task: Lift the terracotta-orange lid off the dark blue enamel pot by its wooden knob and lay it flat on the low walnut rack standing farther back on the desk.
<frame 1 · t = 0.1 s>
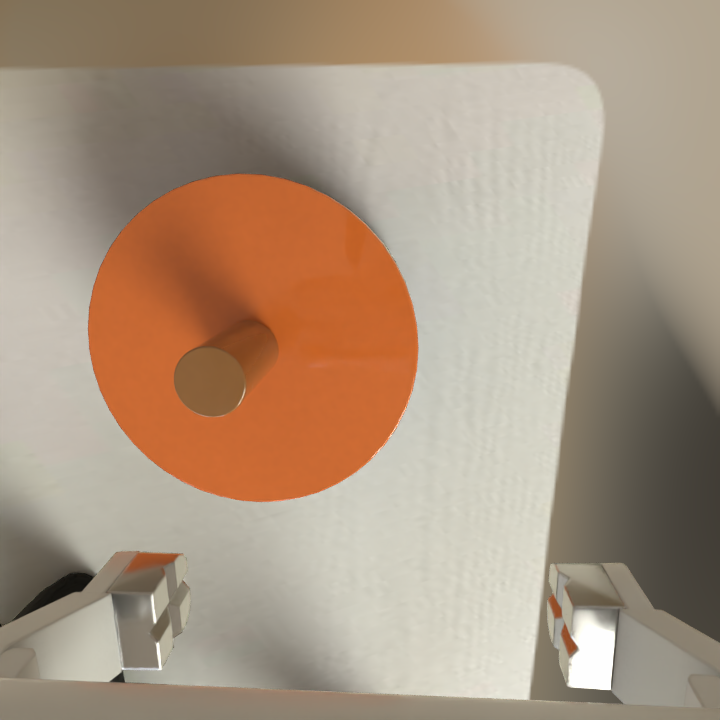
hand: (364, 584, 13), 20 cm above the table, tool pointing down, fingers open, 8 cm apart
lid: (253, 345, 24), point 8 cm above the table, touching pot
film camera: (63, 665, 40), on the table
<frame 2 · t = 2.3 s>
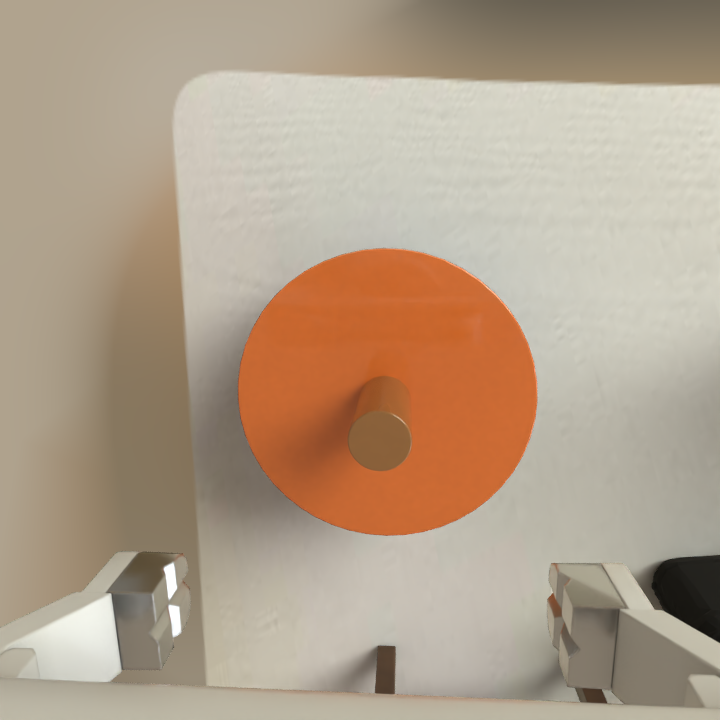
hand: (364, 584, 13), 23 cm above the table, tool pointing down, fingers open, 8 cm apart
lid: (385, 397, 27), point 8 cm above the table, touching pot
rack: (478, 716, 41), on the table
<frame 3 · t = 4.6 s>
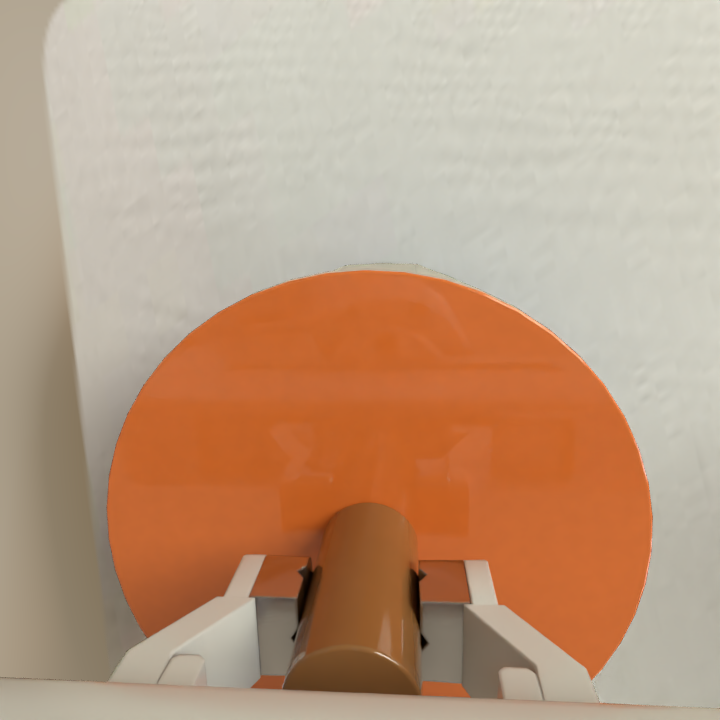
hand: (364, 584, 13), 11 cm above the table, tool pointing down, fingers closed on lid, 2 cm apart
lid: (371, 532, 15), point 9 cm above the table, touching gripper, pot
pot: (383, 421, 23), on the table
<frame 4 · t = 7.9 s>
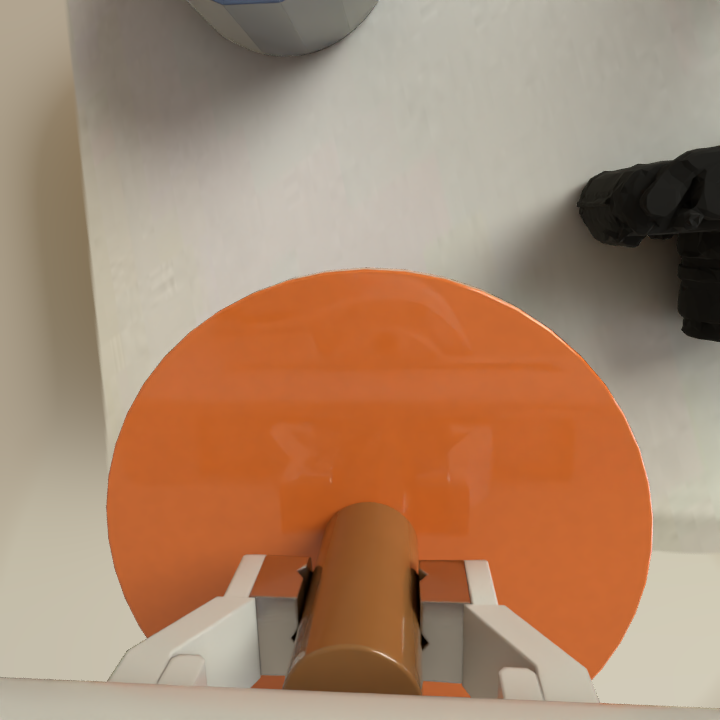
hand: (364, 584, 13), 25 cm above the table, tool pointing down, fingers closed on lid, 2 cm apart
lid: (371, 532, 15), point 22 cm above the table, touching gripper
film camera: (703, 241, 34), on the table
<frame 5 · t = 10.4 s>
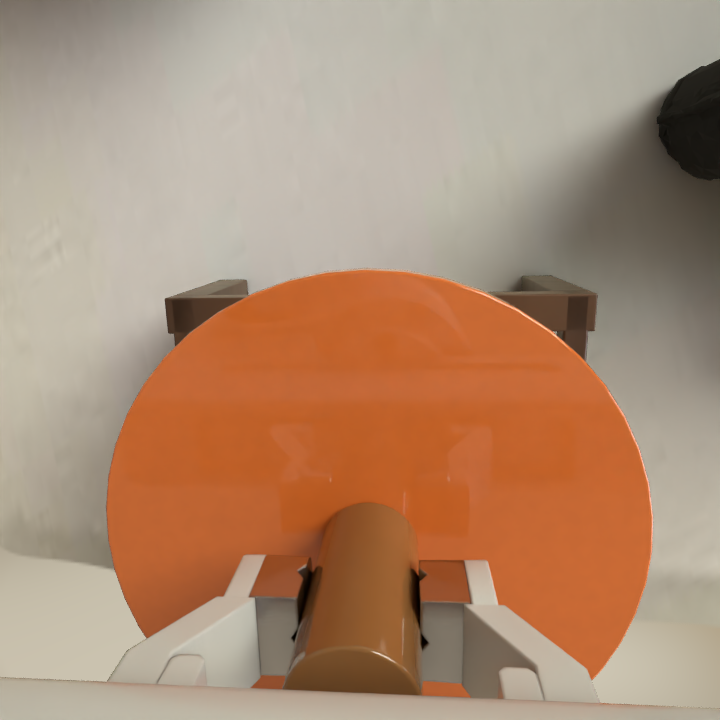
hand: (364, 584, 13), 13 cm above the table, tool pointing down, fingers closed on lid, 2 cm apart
lid: (371, 532, 15), point 11 cm above the table, touching gripper
rack: (383, 402, 26), on the table
when the fingers open (9 cm above the table, at t = 11.7 s): lid stays where it is, resting on rack.
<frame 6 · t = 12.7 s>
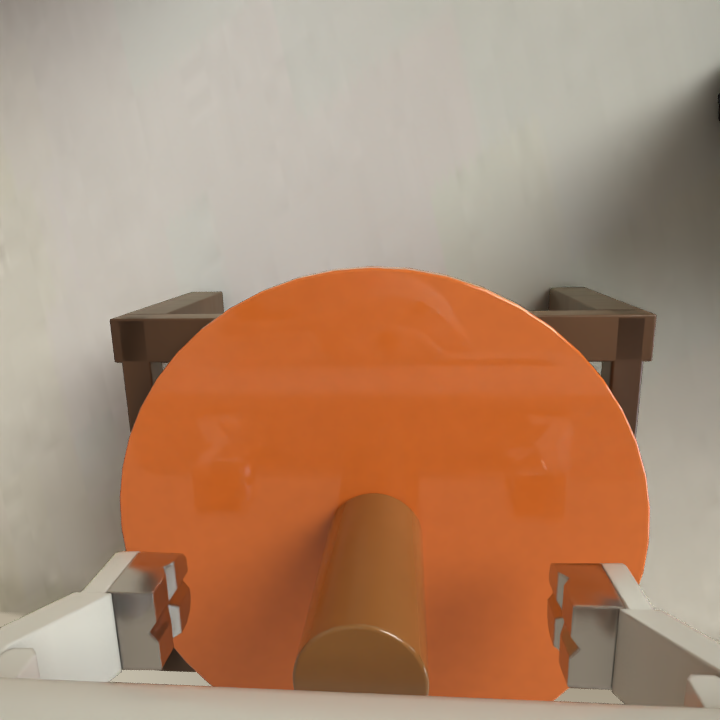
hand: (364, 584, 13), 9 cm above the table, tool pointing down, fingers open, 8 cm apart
lid: (376, 523, 16), point 7 cm above the table, touching rack
rack: (384, 435, 22), on the table
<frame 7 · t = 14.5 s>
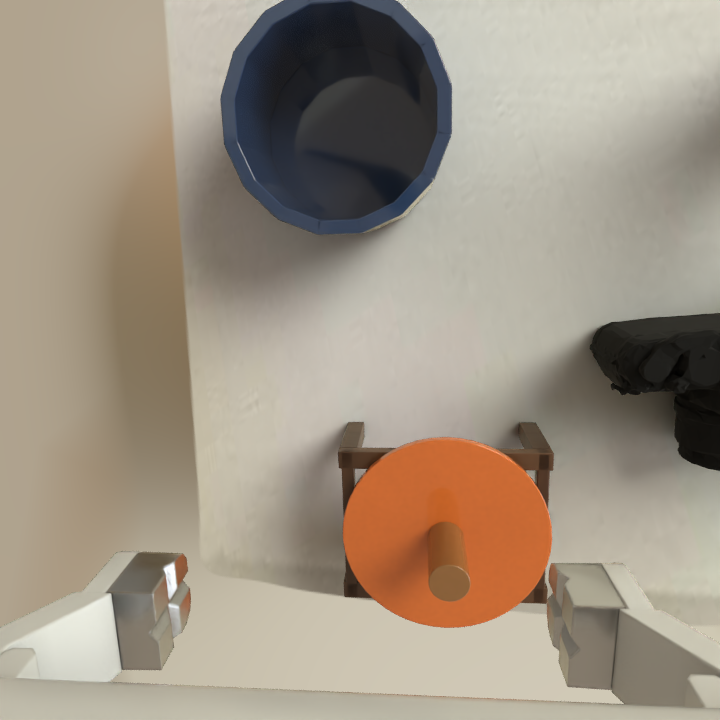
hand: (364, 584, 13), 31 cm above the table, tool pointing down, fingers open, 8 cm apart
lid: (445, 533, 39), point 7 cm above the table, touching rack
rack: (440, 489, 45), on the table
pot: (351, 137, 40), on the table
film camera: (695, 373, 41), on the table
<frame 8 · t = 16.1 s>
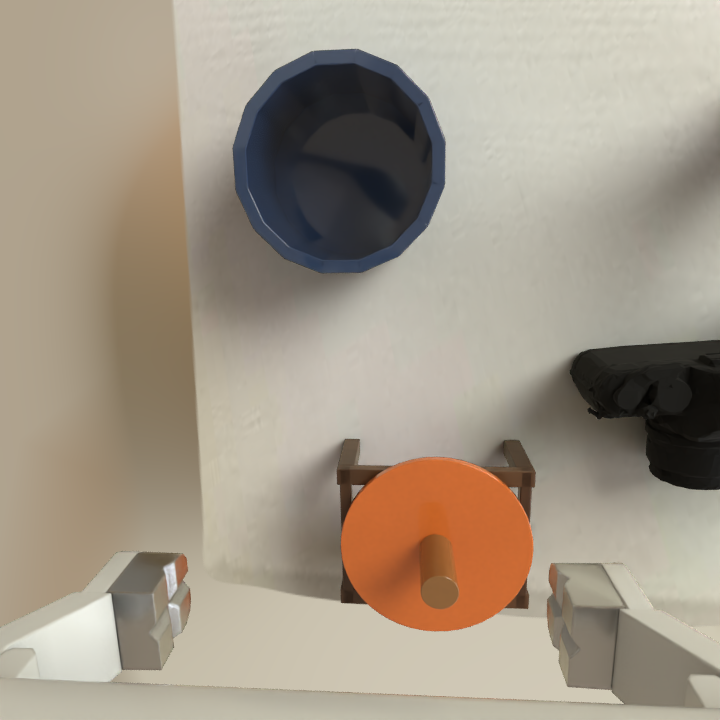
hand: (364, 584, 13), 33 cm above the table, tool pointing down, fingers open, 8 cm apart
lid: (435, 544, 42), point 7 cm above the table, touching rack
rack: (430, 501, 48), on the table
pot: (351, 176, 43), on the table
film camera: (666, 396, 45), on the table
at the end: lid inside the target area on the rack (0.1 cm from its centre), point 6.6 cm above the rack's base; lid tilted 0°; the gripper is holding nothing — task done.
